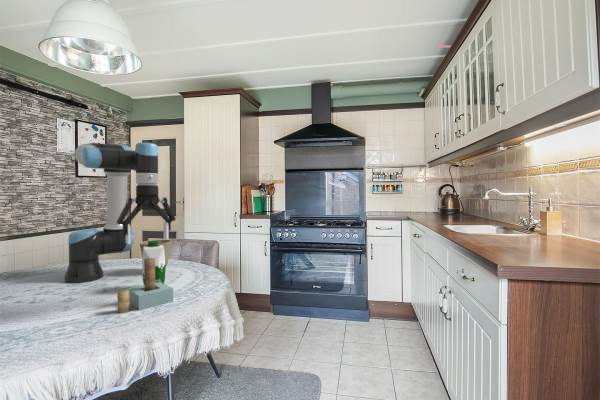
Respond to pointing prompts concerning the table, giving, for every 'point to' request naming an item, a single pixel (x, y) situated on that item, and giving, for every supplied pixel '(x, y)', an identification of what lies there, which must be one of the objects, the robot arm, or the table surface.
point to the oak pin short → (123, 301)
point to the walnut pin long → (149, 274)
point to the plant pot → (160, 242)
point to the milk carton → (158, 254)
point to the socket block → (150, 296)
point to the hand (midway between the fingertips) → (147, 241)
